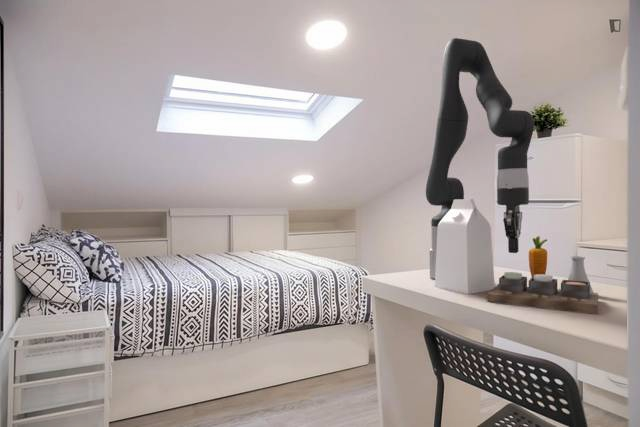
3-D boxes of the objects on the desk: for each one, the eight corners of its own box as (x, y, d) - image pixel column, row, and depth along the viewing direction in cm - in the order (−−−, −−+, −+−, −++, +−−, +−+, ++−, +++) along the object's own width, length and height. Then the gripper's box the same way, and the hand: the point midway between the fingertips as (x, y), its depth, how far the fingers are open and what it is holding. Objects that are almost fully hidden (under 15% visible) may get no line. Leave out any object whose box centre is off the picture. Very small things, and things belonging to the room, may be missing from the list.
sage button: (502, 280, 108) (502, 274, 108) (506, 278, 111) (506, 271, 111) (520, 282, 105) (520, 275, 105) (523, 279, 109) (523, 272, 109)
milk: (494, 288, 118) (494, 198, 118) (467, 294, 112) (467, 199, 112) (461, 282, 129) (460, 199, 128) (434, 286, 123) (433, 199, 122)
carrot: (534, 284, 123) (534, 234, 122) (551, 287, 119) (551, 235, 118) (525, 287, 120) (524, 235, 120) (542, 289, 116) (541, 236, 116)
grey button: (532, 283, 104) (532, 276, 104) (535, 280, 107) (535, 273, 107) (551, 285, 101) (551, 277, 101) (553, 282, 105) (553, 275, 105)
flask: (599, 294, 110) (598, 256, 109) (587, 298, 105) (587, 259, 105) (569, 289, 115) (569, 254, 115) (557, 293, 111) (557, 256, 111)
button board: (487, 301, 104) (487, 281, 103) (498, 291, 115) (498, 273, 115) (597, 314, 91) (597, 291, 90) (598, 300, 102) (598, 280, 102)
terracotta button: (564, 291, 100) (564, 284, 100) (566, 288, 103) (566, 281, 103) (585, 293, 98) (585, 285, 97) (586, 290, 101) (586, 282, 101)
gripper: (502, 188, 115) (503, 249, 116) (492, 186, 105) (492, 254, 105) (532, 186, 111) (532, 250, 112) (524, 185, 100) (525, 256, 101)
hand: (513, 252), depth 108 cm, fingers closed
